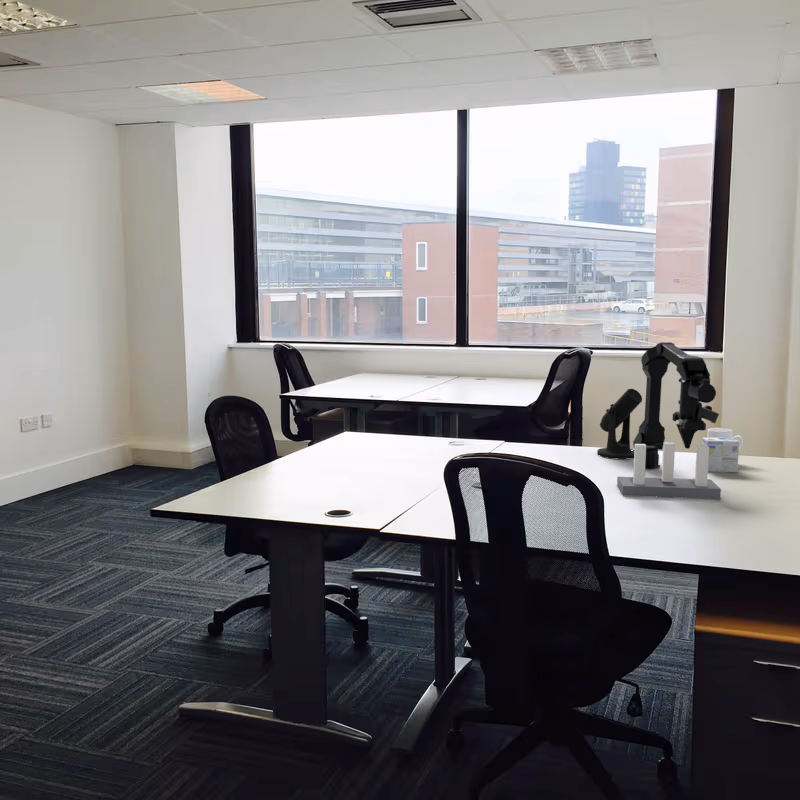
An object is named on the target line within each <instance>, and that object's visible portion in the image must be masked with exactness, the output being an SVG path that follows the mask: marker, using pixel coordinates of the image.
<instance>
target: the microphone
mask: <svg viewBox="0 0 800 800" xmlns="http://www.w3.org/2000/svg"><path fill="white" fill-rule="evenodd" d="M642 401H643V395H641V393H640V392H639V391H638V390H636V389H634V388H628V389H626V391H625V392H624V393H622V395H621V396H620V397H619V398H618V399H617V400H616V402H614V403H611V404H610V407H609V408H607V409H606V410H605V413H604V415H603V416H602V417H601V420H600V423H599V427H600V428H601V429H602V430H603V432H606V433H607V443H606V447H602V448H599V449H597V456H599V455H600V456H599V457H601V456H602V457H601V458H605V457H608V458H607V459H611V458H618V459H617V460H627V459H626V458H634V449H632V448H631V441H630V440H631V438H630V436H631V435H630V428H631V427H630V425H631V414H632V413H633V412H634V410H635V409H636V408H637V407H638V406H640V405H641V403H642ZM621 425H622V428H621V435H620V439H619V440H618V441H617V435H616V433H617V432H616V429H618V427H620V426H621ZM631 450H633V451H631Z"/></svg>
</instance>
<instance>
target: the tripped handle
mask: <svg viewBox="0 0 800 800" xmlns="http://www.w3.org/2000/svg"><path fill="white" fill-rule="evenodd" d="M675 453H676V444H675V442H666V441H664V443H663V448H662V463H661V464H662V465H661V467H662V468H661V478H662V481H663V482H673V478H674V473H675V471H674V470H675Z"/></svg>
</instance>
